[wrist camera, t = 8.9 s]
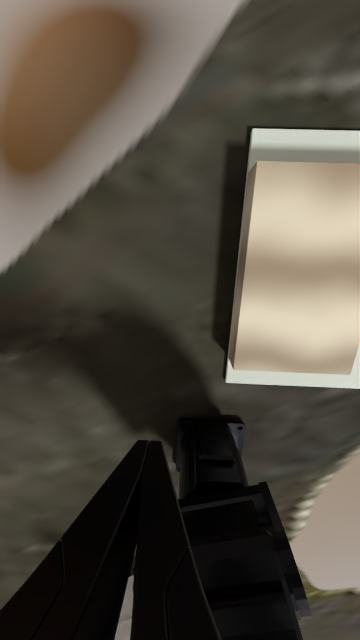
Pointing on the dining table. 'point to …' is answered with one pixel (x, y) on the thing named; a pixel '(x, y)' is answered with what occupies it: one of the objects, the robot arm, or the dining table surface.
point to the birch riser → (298, 269)
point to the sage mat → (262, 148)
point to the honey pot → (126, 613)
